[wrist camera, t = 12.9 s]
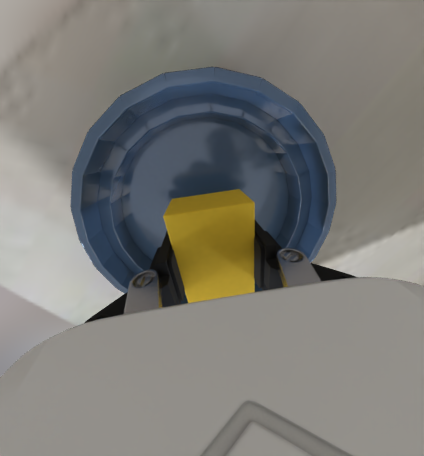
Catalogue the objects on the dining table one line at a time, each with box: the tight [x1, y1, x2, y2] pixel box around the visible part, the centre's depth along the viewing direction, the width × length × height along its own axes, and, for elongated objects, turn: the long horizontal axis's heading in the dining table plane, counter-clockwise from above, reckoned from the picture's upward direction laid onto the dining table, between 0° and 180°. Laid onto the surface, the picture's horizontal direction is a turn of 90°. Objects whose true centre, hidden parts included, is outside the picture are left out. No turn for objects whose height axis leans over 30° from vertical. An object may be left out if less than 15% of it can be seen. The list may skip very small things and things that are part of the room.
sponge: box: [163, 189, 255, 303], centre depth 10 cm, size 7×4×3 cm, turn 7°
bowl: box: [71, 67, 336, 304], centre depth 14 cm, size 19×19×4 cm
